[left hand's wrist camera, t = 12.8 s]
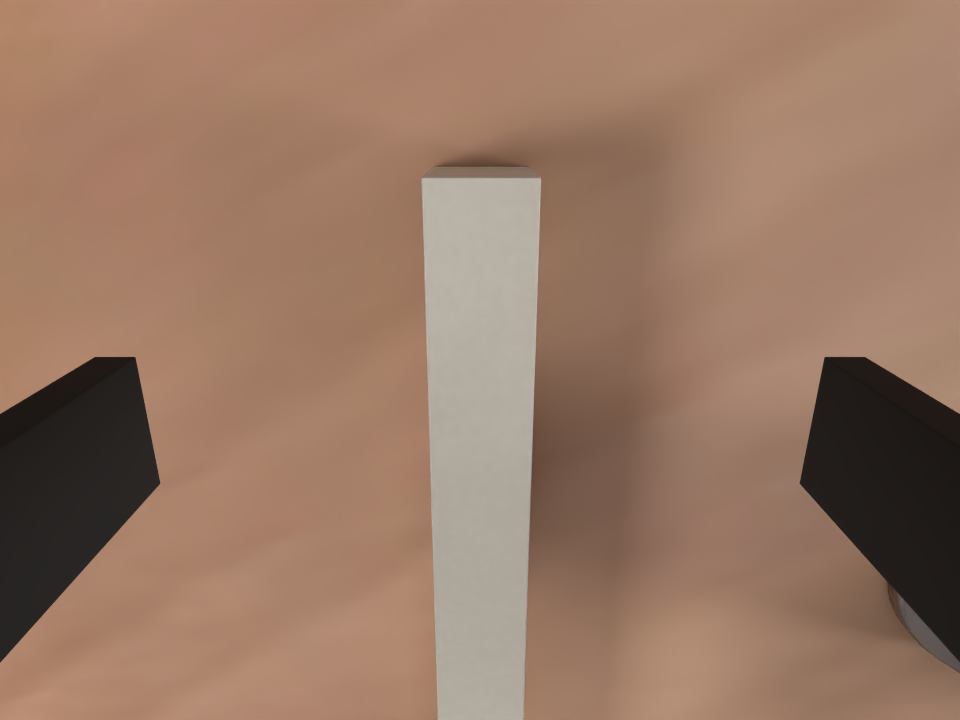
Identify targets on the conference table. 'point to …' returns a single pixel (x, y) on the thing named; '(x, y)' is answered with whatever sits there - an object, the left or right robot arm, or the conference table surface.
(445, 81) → the conference table surface
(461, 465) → the bar
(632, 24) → the conference table surface
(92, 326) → the conference table surface
